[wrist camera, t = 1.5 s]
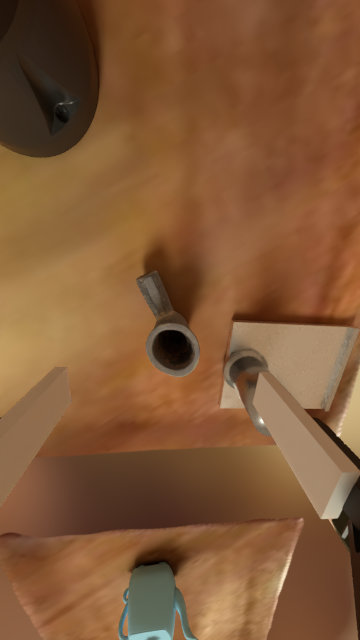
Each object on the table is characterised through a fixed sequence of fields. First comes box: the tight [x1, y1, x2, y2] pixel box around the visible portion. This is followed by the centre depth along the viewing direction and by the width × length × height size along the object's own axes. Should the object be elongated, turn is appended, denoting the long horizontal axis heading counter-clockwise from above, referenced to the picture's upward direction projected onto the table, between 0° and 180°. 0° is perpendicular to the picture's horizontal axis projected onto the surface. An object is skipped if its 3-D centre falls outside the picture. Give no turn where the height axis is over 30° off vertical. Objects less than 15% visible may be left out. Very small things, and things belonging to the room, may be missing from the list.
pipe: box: [137, 270, 200, 377], centre depth 25 cm, size 6×13×8 cm, turn 23°
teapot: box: [118, 562, 198, 640], centre depth 45 cm, size 12×18×12 cm
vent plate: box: [218, 320, 360, 436], centre depth 27 cm, size 16×21×11 cm
